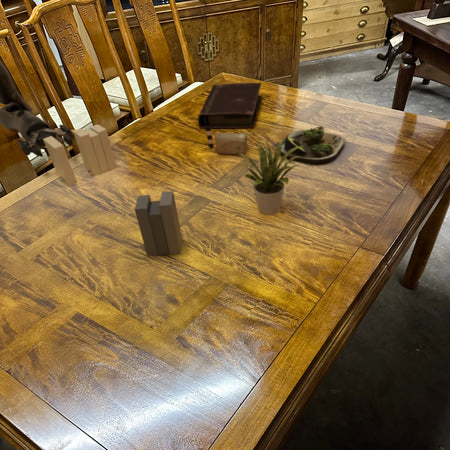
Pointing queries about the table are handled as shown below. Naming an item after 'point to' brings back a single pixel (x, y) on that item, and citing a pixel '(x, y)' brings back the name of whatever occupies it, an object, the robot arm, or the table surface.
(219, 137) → the cuneiform tablet
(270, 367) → the table surface
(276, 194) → the house plant
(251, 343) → the table surface
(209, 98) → the diary
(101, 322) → the table surface
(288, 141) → the salad plate
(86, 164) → the beige books
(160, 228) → the grey books
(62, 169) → the beige book
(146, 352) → the table surface
